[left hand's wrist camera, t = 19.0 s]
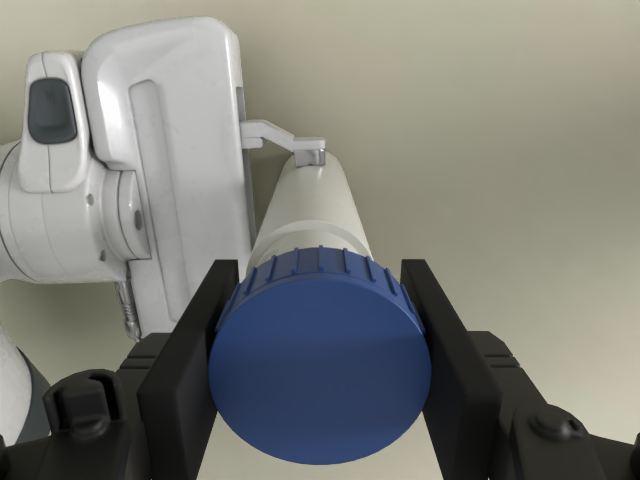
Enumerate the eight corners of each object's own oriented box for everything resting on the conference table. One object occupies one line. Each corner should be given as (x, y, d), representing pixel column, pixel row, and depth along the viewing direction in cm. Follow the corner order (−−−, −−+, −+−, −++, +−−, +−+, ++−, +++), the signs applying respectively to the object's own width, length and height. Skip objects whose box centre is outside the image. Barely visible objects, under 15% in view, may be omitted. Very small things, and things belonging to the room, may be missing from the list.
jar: (267, 175, 32) (205, 298, 14) (317, 133, 31) (321, 206, 13) (308, 222, 33) (302, 392, 15) (357, 184, 32) (413, 315, 14)
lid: (438, 383, 13) (459, 435, 11) (265, 432, 14) (256, 489, 12) (386, 215, 11) (400, 243, 9) (189, 281, 12) (164, 319, 10)
